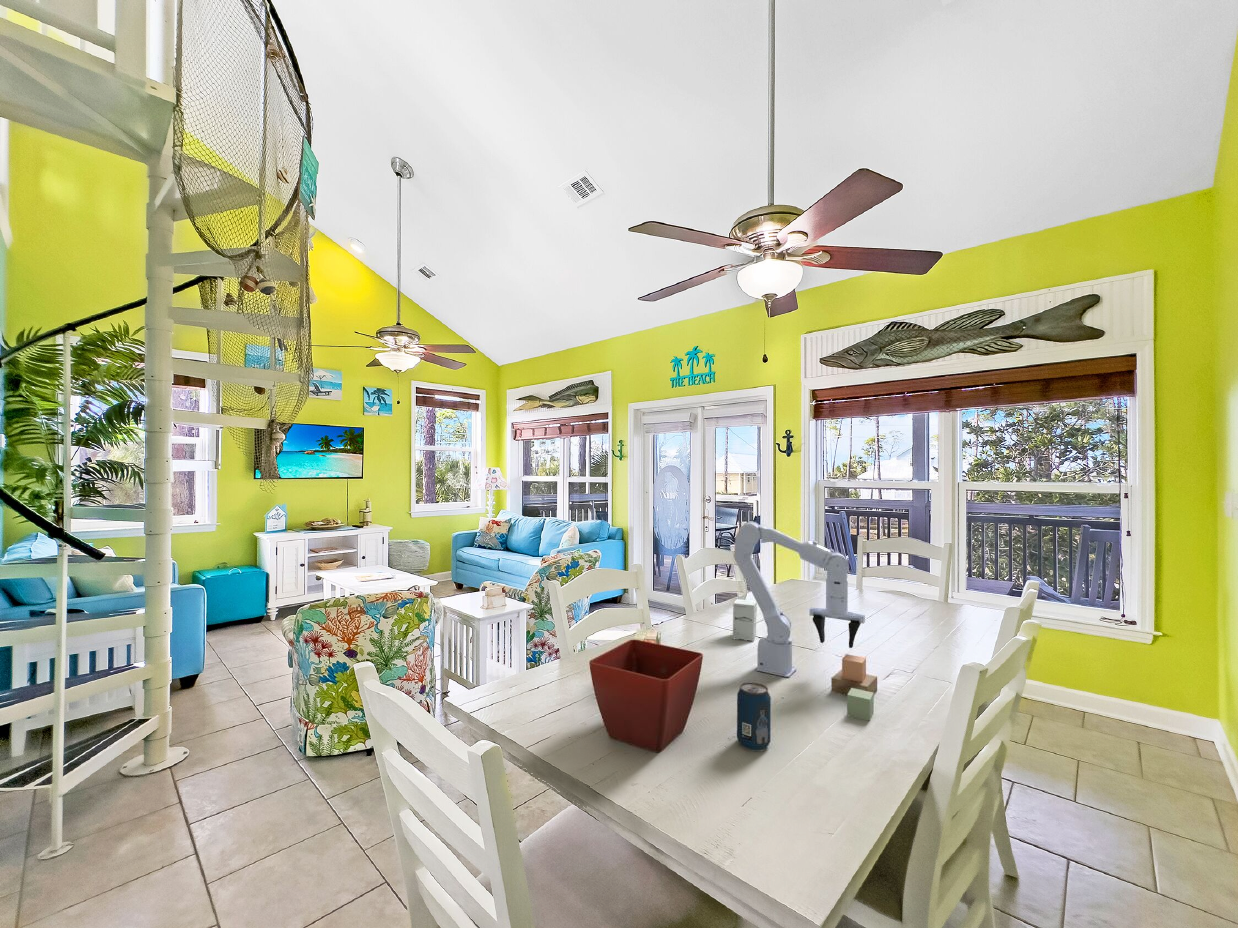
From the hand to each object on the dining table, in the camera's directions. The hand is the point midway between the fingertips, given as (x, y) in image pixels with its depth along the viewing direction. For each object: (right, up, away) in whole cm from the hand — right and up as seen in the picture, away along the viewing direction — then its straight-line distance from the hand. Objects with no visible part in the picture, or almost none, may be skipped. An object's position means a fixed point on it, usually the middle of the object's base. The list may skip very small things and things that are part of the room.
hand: (836, 644), depth 154 cm
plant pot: (-55, -9, -34) cm, 66 cm away
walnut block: (+1, -10, -9) cm, 13 cm away
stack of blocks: (-53, -9, +2) cm, 54 cm away
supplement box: (-17, -10, +37) cm, 42 cm away
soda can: (-33, -9, -38) cm, 51 cm away
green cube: (-3, -9, -23) cm, 25 cm away
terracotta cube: (+1, -6, -9) cm, 11 cm away
